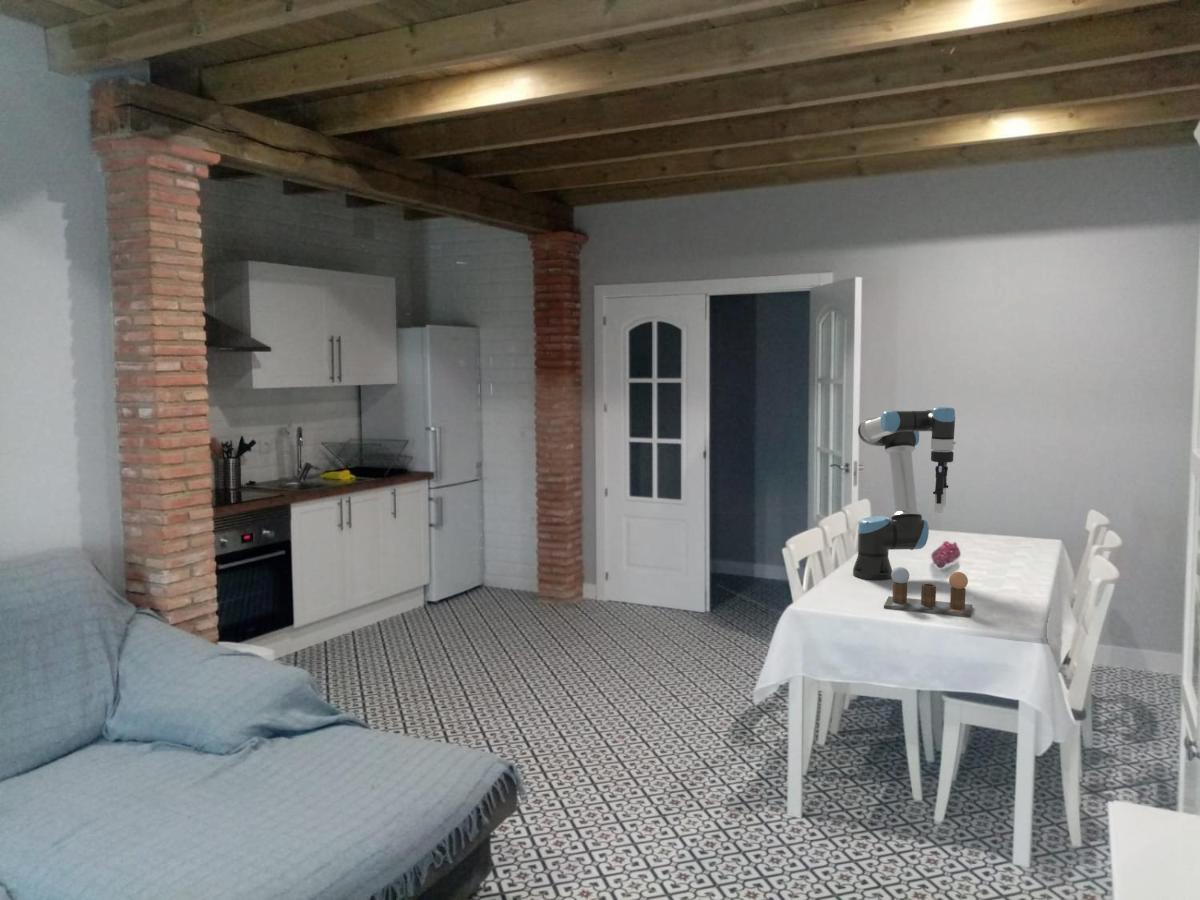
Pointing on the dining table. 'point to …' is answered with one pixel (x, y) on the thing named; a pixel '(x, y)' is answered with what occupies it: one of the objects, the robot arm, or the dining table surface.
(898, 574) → the ball grey
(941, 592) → the dining table surface
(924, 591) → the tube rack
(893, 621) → the dining table surface
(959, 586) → the ball terracotta
